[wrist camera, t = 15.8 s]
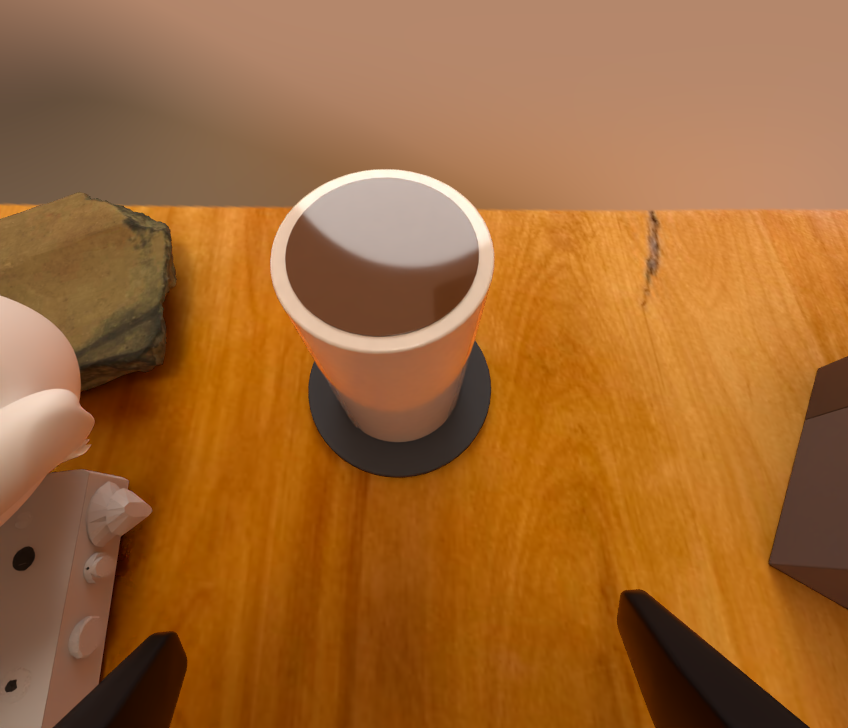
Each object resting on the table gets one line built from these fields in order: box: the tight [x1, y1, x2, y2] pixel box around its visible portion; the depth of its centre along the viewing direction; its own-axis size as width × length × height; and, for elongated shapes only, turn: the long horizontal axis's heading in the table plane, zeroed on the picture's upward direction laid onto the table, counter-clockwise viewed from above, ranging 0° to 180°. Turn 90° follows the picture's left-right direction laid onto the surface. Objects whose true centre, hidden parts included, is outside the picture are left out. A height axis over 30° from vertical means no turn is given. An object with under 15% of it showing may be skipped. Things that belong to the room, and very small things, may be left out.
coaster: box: [309, 341, 491, 477], centre depth 19 cm, size 8×8×1 cm
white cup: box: [270, 169, 494, 442], centre depth 15 cm, size 6×6×10 cm
